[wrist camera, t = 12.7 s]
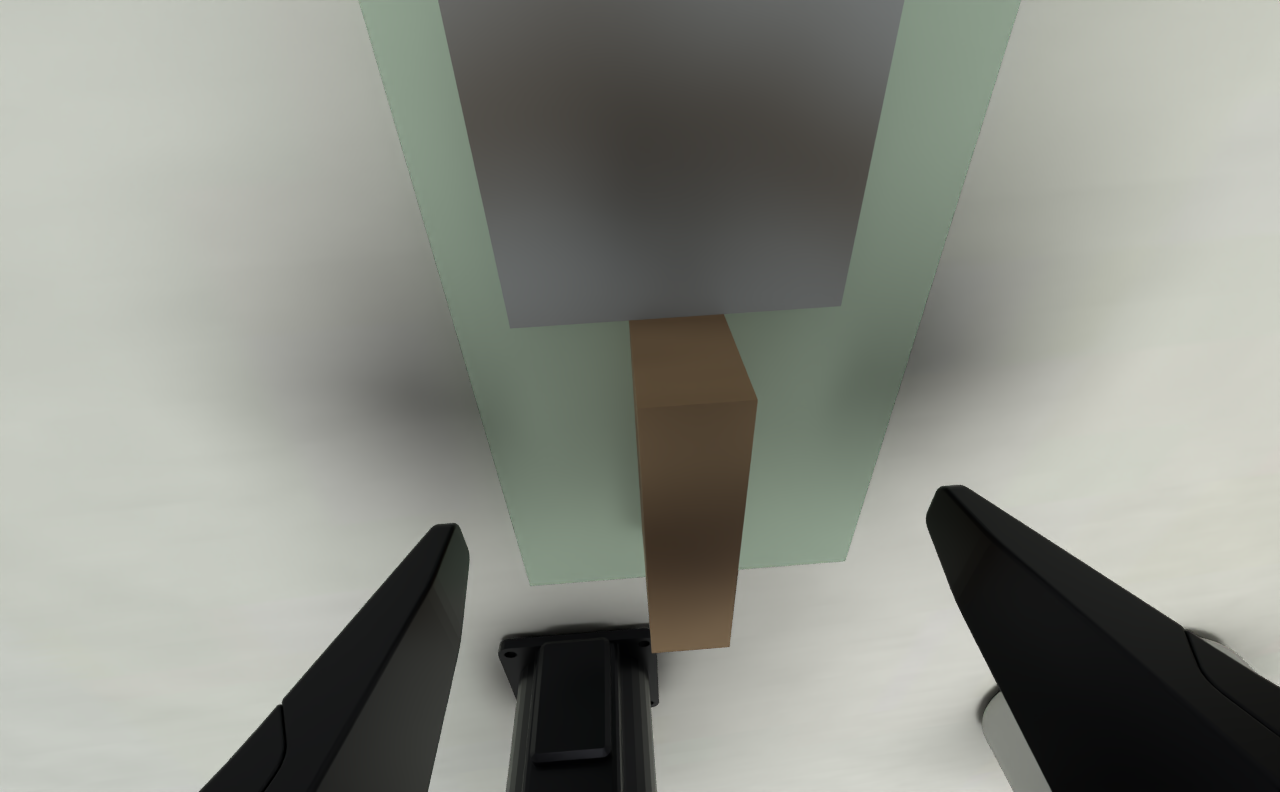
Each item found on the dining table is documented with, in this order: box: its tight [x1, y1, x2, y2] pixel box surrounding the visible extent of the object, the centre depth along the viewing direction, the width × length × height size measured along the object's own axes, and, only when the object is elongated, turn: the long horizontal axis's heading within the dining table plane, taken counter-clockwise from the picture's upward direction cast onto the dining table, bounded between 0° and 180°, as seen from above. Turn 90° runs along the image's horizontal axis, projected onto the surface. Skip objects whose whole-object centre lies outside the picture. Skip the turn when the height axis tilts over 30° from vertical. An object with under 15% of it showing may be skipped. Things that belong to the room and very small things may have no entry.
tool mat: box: [359, 0, 1021, 586], centre depth 13 cm, size 18×11×1 cm, turn 3°
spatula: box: [438, 0, 904, 653], centre depth 11 cm, size 14×7×4 cm, turn 3°
